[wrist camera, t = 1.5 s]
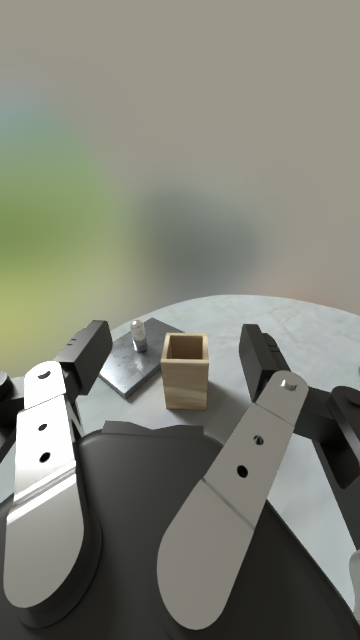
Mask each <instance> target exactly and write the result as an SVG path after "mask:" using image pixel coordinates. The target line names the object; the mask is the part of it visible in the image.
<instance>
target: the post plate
mask: <svg viewBox="0 0 360 640" xmlns="http://www.w3.org/2000/svg"><path fill="white" fill-rule="evenodd" d="M130 330H131V331H130V332H128V333H127V334H125V335H124V336H122V337H120V338H119V339H117V340H116V341H114V342H113V347H112V351H111V353H110V355H109V356H108V358H107V360H106V362H105V364H104V366H103V367H102V369H101V371H100V373H99V375H98V376H99V377H100V378H101V379H102V380H104V381H105V382H106V383H107V384H108V385H109V386H111V387H112V388H113V389H114V390H115V391H117V392H118V393H119V394H120V395H121V396H122V397H124V398H125V399H127V398H128V397H129V396H130V395H131V394H133V393H134V392H135V391H136V390H137V389H138V388H139V387H140V386H142V385H143V384H144V383H145V382H146V381H147V380H148V379H149V378H151V377H152V376H153V375H154V374H155V373H156V372H157V371H158V370H160V369H161V358H162V352H163V347H164V342H165V337H166V333H185V332H183V331H180V330H178V329H176V328H174V327H172V326H169V325H167V324H165V323H163V322H161V321H159V320H156V319H154V318H151V319H149V320H147V321H146V322H144V323H143V322H141V321H139V320H135V321H133V322H132V323H131V325H130Z"/></svg>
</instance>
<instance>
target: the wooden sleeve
mask: <svg viewBox="0 0 360 640" xmlns="http://www.w3.org/2000/svg"><path fill="white" fill-rule="evenodd" d="M208 369H209V358H208V344H207V333H166V337H165V342H164V347H163V352H162V358H161V370H162V377H163V385H164V393H165V401H166V409H191V410H206V401H207V385H208Z"/></svg>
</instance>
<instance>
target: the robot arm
mask: <svg viewBox="0 0 360 640" xmlns="http://www.w3.org/2000/svg"><path fill="white" fill-rule="evenodd" d="M112 347H113V342H112V337H111V333H110V330H109V325H108V322H107V321H99V320H98V321H97V320H93V321H92V322H91V323H90V324H89V325H88V327H87V328H84V329H82V330H81V331H79V332H78V333H76V334H75V335H74V337H73V338H72V339H71V340H70V341H69V342H68V343H67V345H66V346H65V347H64V348H63V349H62V350H61V352H60V353H59V354H58V355H57V356H56V357H55V359H54V360H53V361H52V362H47V363H43V364H40V365H38V366H36V367H35V368H33V369H32V370H31V371H29V373H28V374H27V375H26V376H22V377H16V378H11V379H10V378H9V376H8V375H7V374H6V373H5V372H3V371H0V463H1V462H2V460H3V459H4V457H5V456H6V454H7V453H8V451H9V450H10V448H11V447H12V445H13V444H14V443H15V441H16V440H17V443H16V467H15V490H14V493H13V494H11V495H10V496H9V497H8V498H7V499H5V500H4V501H3V502H2V503H0V640H360V391H358V390H356V389H353V388H350V387H346V386H337V387H335V388H334V389H333V390H332V392H331V393H330V392H326V391H323V390H319V389H315V388H312V387H309V386H308V385H307V383H306V382H305V380H304V379H303V378H302V377H300V376H299V375H297V374H295V373H293V372H291V370H290V368H289V366H288V364H287V362H286V361H285V359H284V357H283V355H282V353H281V352H280V349H279V348H278V347H277V344H276V342H275V340H274V339H273V338H272V337H271V336H270V335H268V334H267V333H262V332H261V330H260V328H259V326H258V325H257V324H243V327H242V332H241V338H240V343H239V356H240V360H241V363H242V367H243V371H244V375H245V378H246V382H247V386H248V390H249V393H250V397H251V401H252V404H251V405H250V406H249V408H248V409H247V411H246V413H245V414H244V416H243V417H242V419H241V420H240V422H239V423H238V425H237V426H236V428H235V430H234V431H233V433H232V434H231V436H230V437H229V439H228V440H227V442H226V444H225V445H223V444H221V443H220V442H219V441H217V440H215V439H214V438H212V437H210V436H207V435H204V434H203V426H191V425H175V426H170V427H165V428H160V429H155V430H151V429H148V428H145V427H142V426H139V425H137V424H134V423H131V422H121V421H105V424H104V426H103V429H100V430H96V431H94V432H91V433H89V434H87V435H85V433H84V429H83V425H82V421H81V417H80V413H79V409H78V405H77V402H76V398H77V396H78V395H88V393H89V391H90V389H91V388H92V386H93V384H94V382H95V380H96V378H97V377H98V375H99V373H100V371H101V369H102V367H103V366H104V364H105V362H106V360H107V358H108V356H109V355H110V353H111V351H112ZM359 373H360V367H359ZM292 433H295V434H298V435H300V436H303V437H306V438H309V439H311V440H312V442H313V445H314V447H315V450H316V452H317V455H318V457H319V460H320V462H321V464H322V467H323V469H324V472H325V474H326V477H327V479H328V481H329V484H330V486H331V489H332V491H333V494H334V496H335V499H336V501H337V503H338V506H339V508H340V511H341V513H342V516H343V518H344V520H345V523H346V525H347V528H348V530H349V533H350V535H351V538H352V540H353V542H354V545H355V547H356V550H357V551H356V552H354V553H353V554H352V556H351V558H350V562H349V571H350V577H351V580H352V584H353V588H354V593H355V608H354V612H353V613H352V611H351V609H350V608H349V606H348V605H347V603H346V601H345V600H344V598H343V597H342V596H341V594H340V593H339V591H338V590H337V589H336V587H335V586H334V585H333V583H332V582H331V581H330V580H329V578H328V577H327V576H326V574H325V573H324V572H323V571H322V569H321V568H320V567H319V565H318V564H317V563H316V562H315V560H314V559H313V558H312V556H311V555H310V554H309V553H308V551H307V550H306V549H305V547H304V546H303V545H302V544H301V542H300V541H299V540H298V538H297V537H296V536H295V535H294V533H293V532H292V531H291V529H290V528H289V527H288V525H287V524H286V523H285V522H284V520H283V519H282V518H281V516H280V515H279V514H278V513H277V511H276V510H275V509H274V507H273V506H272V505H271V504H270V502H269V501H268V500H267V496H268V494H269V491H270V489H271V486H272V484H273V481H274V479H275V476H276V474H277V471H278V468H279V466H280V463H281V461H282V458H283V456H284V453H285V451H286V448H287V446H288V443H289V441H290V438H291V436H292Z"/></svg>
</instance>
